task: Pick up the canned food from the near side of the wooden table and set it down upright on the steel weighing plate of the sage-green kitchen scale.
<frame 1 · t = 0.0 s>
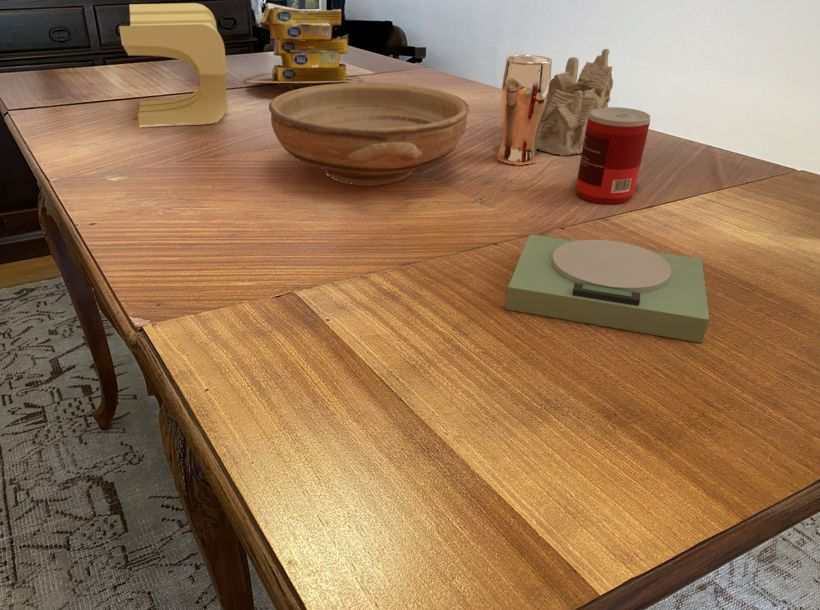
canned food: (603, 196, 98), on the table
yellow c-shaped bracket: (184, 118, 133), on the table
kitchen scale: (604, 293, 72), on the table
stacked yellow boxes: (304, 90, 154), on the table
ceramic cottage: (558, 141, 121), on the table
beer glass: (516, 161, 111), on the table
ceramic bowl: (367, 172, 106), on the table
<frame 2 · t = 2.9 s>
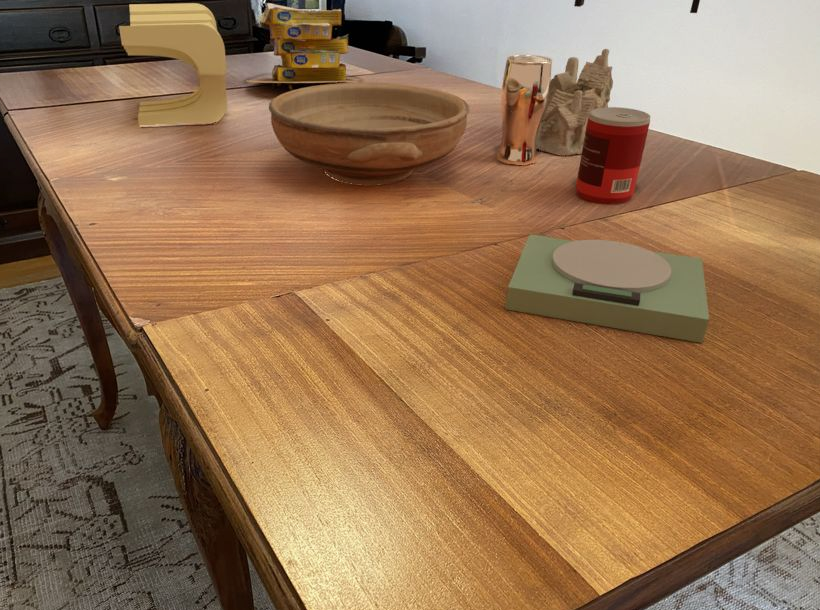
hand: (634, 9, 88), 23 cm above the table, tool pointing down, fingers open, 13 cm apart
nothing on the table moved.
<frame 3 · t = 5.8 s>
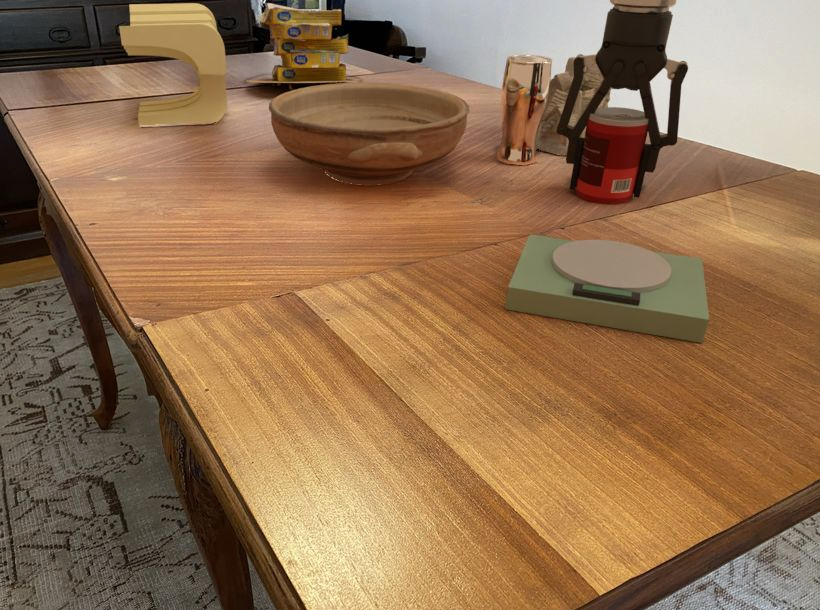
hand: (604, 190, 97), 1 cm above the table, tool pointing down, fingers closed on canned food, 8 cm apart
canned food: (603, 196, 98), on the table, touching gripper
everything else where it was.
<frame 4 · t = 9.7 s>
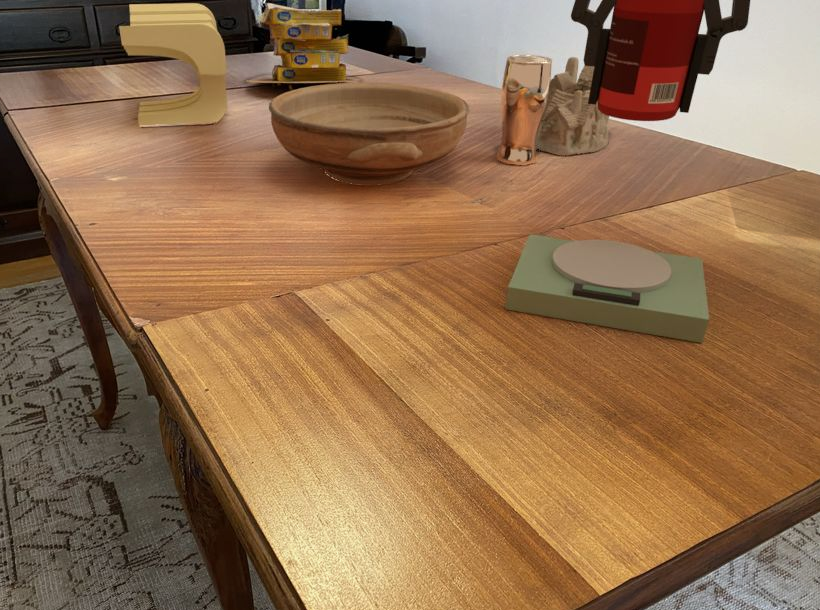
hand: (637, 105, 69), 17 cm above the table, tool pointing down, fingers closed on canned food, 8 cm apart
canned food: (635, 114, 69), point 16 cm above the table, touching gripper
everything else where it was.
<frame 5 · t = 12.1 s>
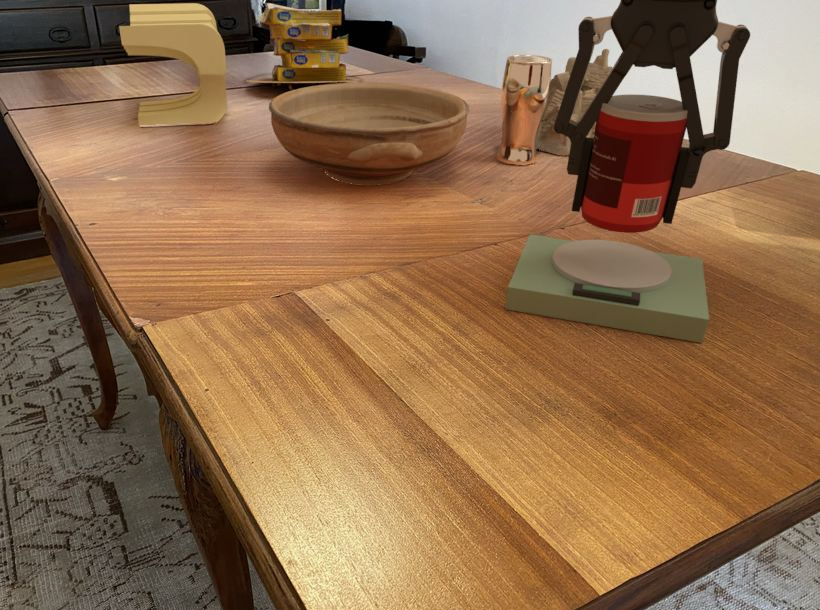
hand: (621, 212, 69), 8 cm above the table, tool pointing down, fingers closed on canned food, 8 cm apart
canned food: (619, 220, 69), point 8 cm above the table, touching gripper
everything else where it was.
when the fingers open (4 cm above the table, at t = 13.7 s): canned food stays where it is, resting on kitchen scale.
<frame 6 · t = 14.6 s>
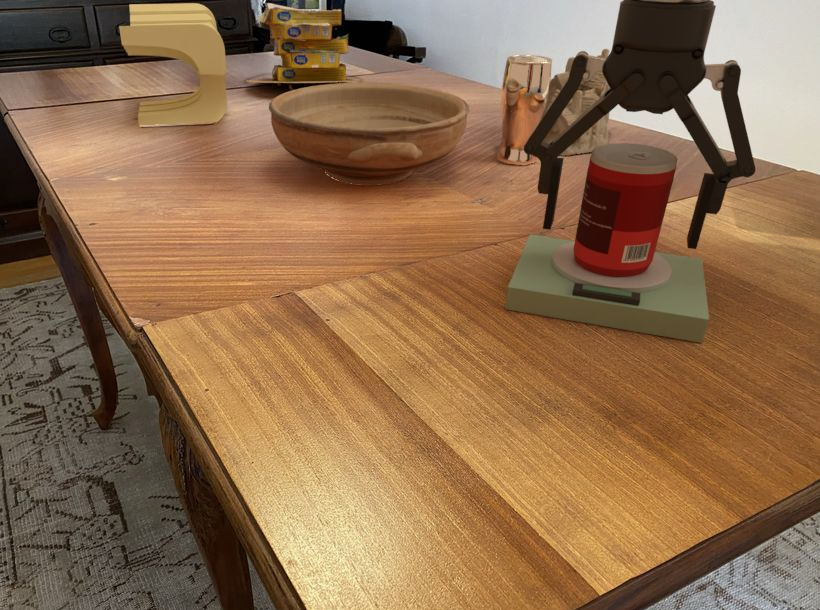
hand: (617, 234, 70), 6 cm above the table, tool pointing down, fingers open, 13 cm apart
canned food: (610, 263, 72), point 3 cm above the table, touching kitchen scale
everything else where it was.
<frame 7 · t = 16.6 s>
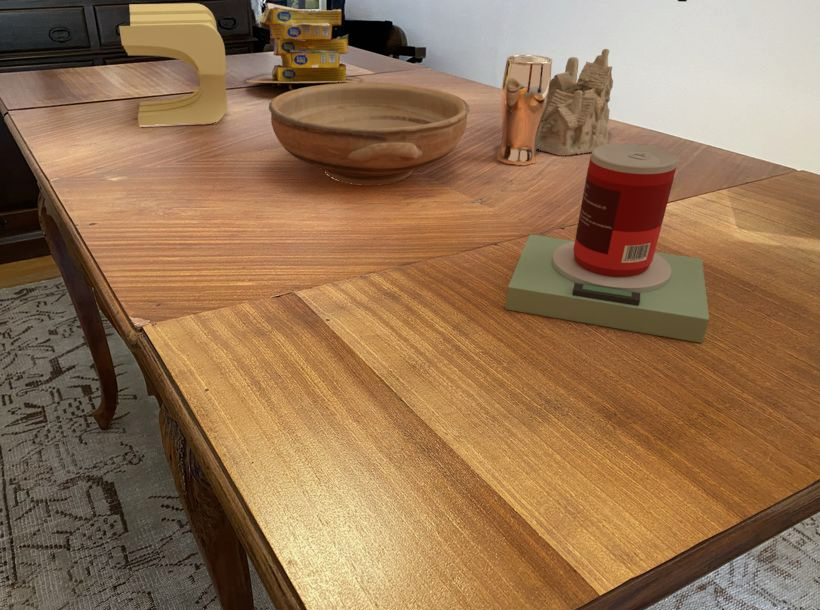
hand: (758, 2, 67), 26 cm above the table, tool pointing down, fingers open, 13 cm apart
nothing on the table moved.
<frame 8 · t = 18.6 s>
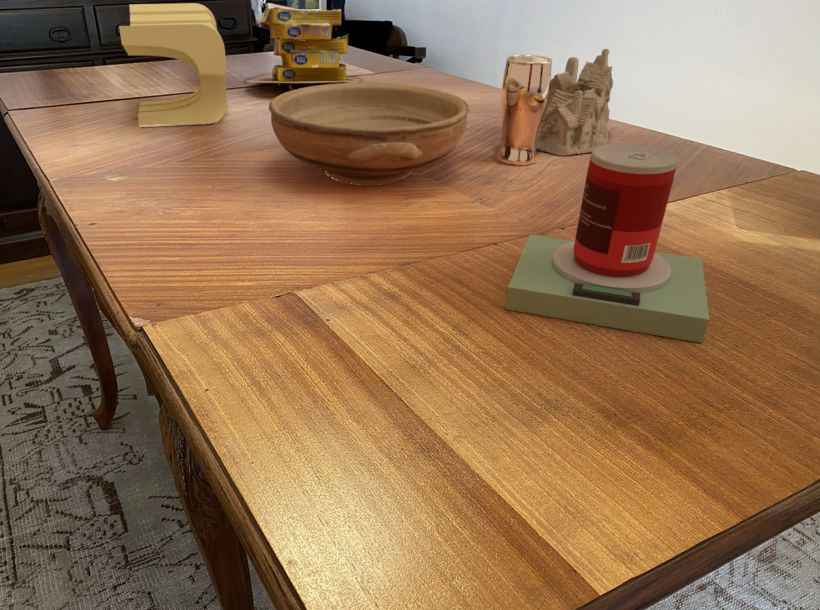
nothing on the table moved.
at the end: canned food inside the target area on the kitchen scale (0.0 cm from its centre), point 2.9 cm above the kitchen scale's base; canned food tilted 0°; the gripper is holding nothing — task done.
